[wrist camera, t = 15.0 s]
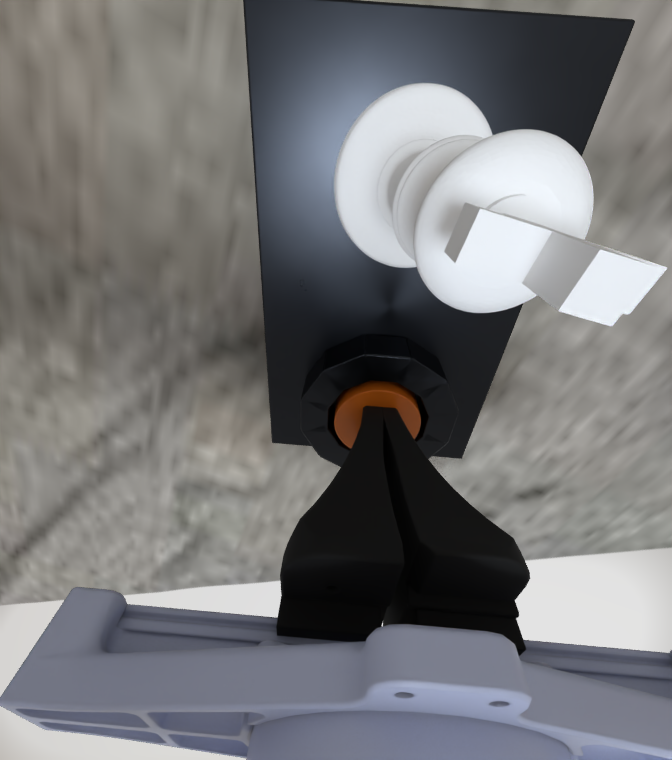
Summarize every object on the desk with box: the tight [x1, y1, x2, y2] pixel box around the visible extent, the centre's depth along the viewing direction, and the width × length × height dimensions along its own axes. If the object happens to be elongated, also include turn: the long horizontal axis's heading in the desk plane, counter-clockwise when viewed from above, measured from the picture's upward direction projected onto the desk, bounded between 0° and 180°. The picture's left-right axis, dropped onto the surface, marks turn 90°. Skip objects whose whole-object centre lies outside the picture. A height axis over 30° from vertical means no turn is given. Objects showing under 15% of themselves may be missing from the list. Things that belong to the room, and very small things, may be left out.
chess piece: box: [334, 83, 667, 326], centre depth 6 cm, size 5×5×10 cm
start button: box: [334, 381, 421, 448], centre depth 14 cm, size 4×4×2 cm
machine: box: [243, 0, 635, 467], centre depth 13 cm, size 10×16×4 cm, turn 176°
